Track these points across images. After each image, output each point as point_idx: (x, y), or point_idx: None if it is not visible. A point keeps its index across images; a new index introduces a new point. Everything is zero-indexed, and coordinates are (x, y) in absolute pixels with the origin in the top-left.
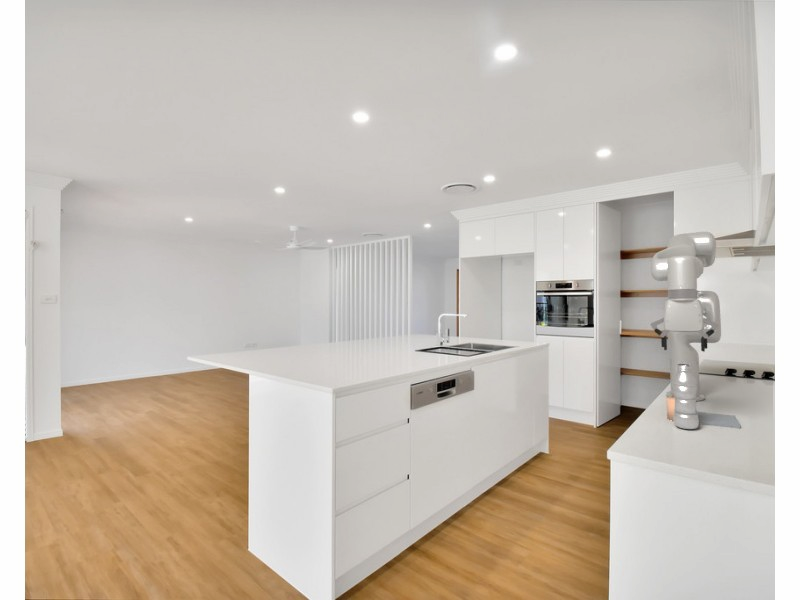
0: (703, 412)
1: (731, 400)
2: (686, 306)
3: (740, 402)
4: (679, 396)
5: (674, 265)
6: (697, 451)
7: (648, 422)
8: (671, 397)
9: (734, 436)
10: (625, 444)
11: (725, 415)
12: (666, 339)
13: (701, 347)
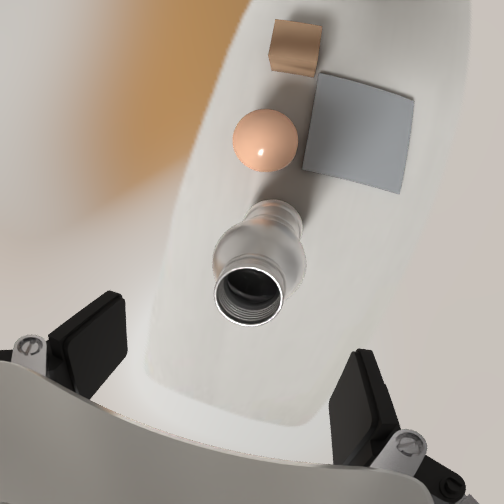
0: (348, 81)
1: None
2: None
3: None
4: (243, 270)
5: None
6: (258, 362)
7: (194, 196)
8: (250, 123)
9: (360, 261)
10: (152, 349)
11: (394, 102)
12: (88, 398)
13: (340, 398)
